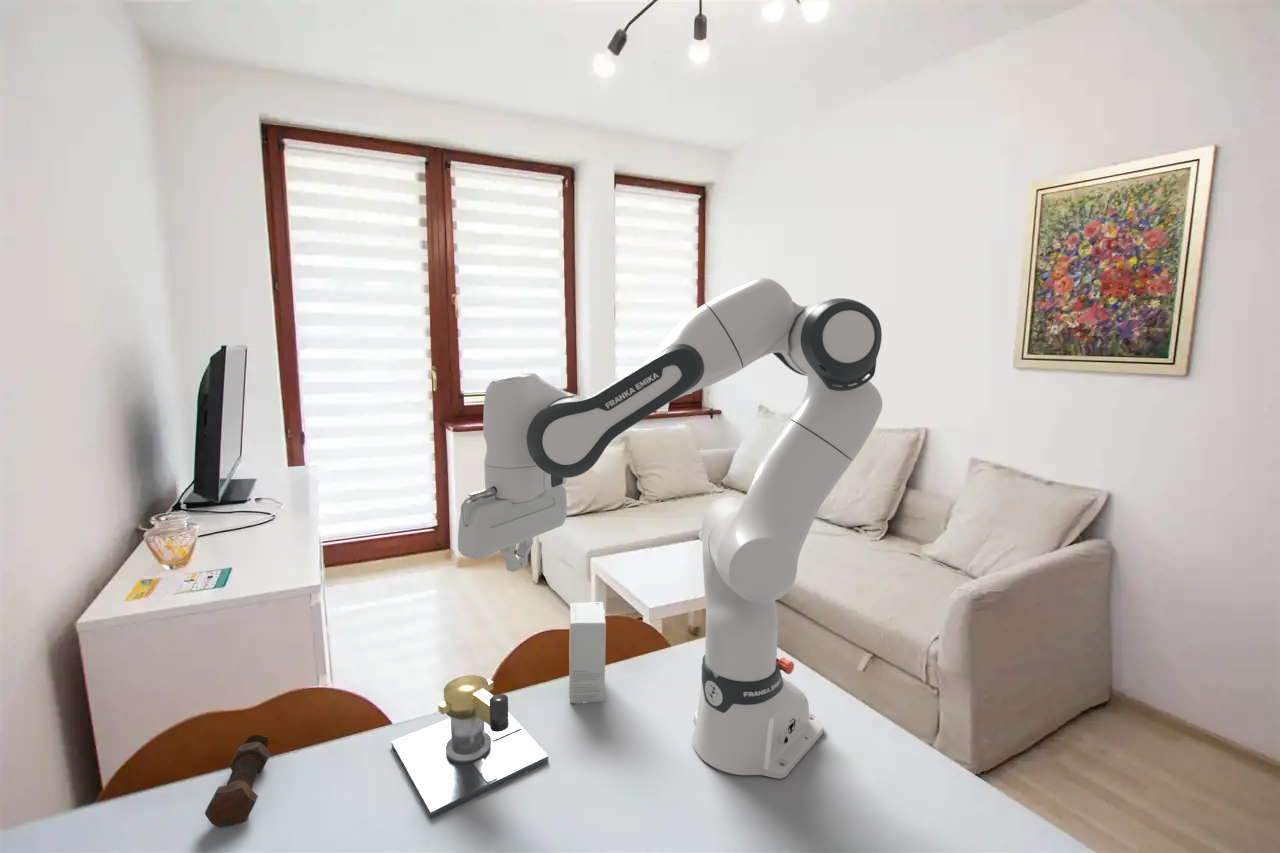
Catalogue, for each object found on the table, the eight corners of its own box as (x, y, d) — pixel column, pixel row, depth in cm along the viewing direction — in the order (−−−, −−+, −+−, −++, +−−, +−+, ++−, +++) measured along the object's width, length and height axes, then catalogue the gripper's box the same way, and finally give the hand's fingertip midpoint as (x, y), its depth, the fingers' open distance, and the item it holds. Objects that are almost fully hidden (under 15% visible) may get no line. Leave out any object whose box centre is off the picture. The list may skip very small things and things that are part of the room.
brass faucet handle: (429, 709, 91) (428, 680, 90) (479, 684, 97) (478, 657, 97) (478, 748, 82) (477, 717, 82) (529, 719, 89) (529, 689, 88)
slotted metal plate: (497, 705, 106) (496, 662, 105) (548, 761, 92) (547, 713, 91) (391, 747, 95) (389, 700, 94) (431, 818, 81) (428, 764, 80)
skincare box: (569, 679, 114) (568, 601, 112) (604, 677, 115) (604, 600, 112) (569, 705, 106) (568, 622, 103) (606, 703, 106) (606, 621, 104)
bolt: (264, 762, 94) (238, 833, 80) (230, 754, 92) (197, 825, 78) (283, 728, 94) (260, 793, 80) (249, 719, 92) (220, 784, 78)
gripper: (477, 499, 80) (480, 597, 82) (573, 471, 97) (573, 553, 99) (445, 492, 83) (449, 587, 85) (543, 466, 100) (544, 545, 102)
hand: (517, 568), depth 92 cm, fingers closed
